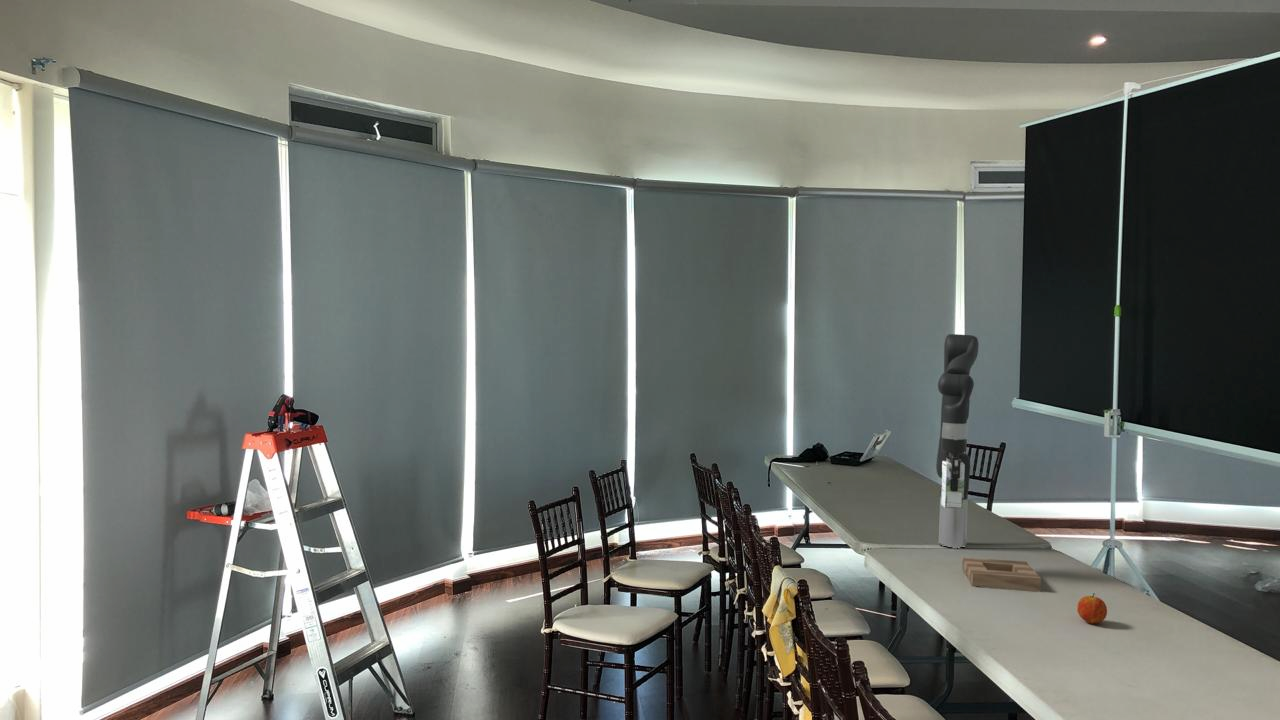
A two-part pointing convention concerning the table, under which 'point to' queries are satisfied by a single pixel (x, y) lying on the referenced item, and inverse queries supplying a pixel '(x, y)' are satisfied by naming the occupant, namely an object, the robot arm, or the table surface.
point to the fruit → (1092, 609)
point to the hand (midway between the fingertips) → (952, 489)
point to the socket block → (1001, 574)
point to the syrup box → (947, 496)
